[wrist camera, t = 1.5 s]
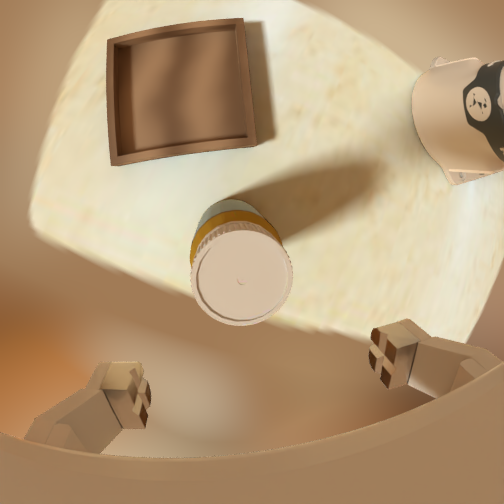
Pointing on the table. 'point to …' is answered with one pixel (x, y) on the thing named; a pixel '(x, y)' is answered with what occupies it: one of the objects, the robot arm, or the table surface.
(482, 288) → the table surface
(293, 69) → the table surface
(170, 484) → the robot arm
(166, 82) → the serving tray
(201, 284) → the bottle
